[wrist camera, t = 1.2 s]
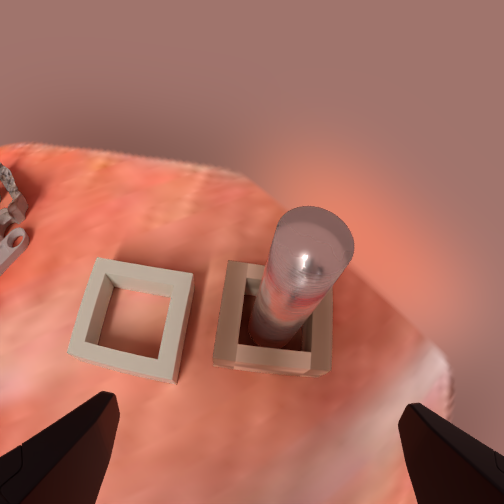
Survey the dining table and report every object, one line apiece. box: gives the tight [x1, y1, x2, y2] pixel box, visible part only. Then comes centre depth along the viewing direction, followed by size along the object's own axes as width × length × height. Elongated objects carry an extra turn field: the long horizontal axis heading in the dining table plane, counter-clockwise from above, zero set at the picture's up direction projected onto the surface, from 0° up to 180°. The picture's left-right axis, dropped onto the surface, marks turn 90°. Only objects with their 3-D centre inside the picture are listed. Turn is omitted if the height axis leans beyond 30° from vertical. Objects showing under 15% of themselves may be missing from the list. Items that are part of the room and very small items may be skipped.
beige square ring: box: [213, 260, 333, 378], centre depth 23 cm, size 8×7×3 cm
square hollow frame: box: [67, 257, 195, 385], centre depth 22 cm, size 8×8×2 cm
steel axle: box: [248, 206, 354, 349], centre depth 19 cm, size 4×4×12 cm
